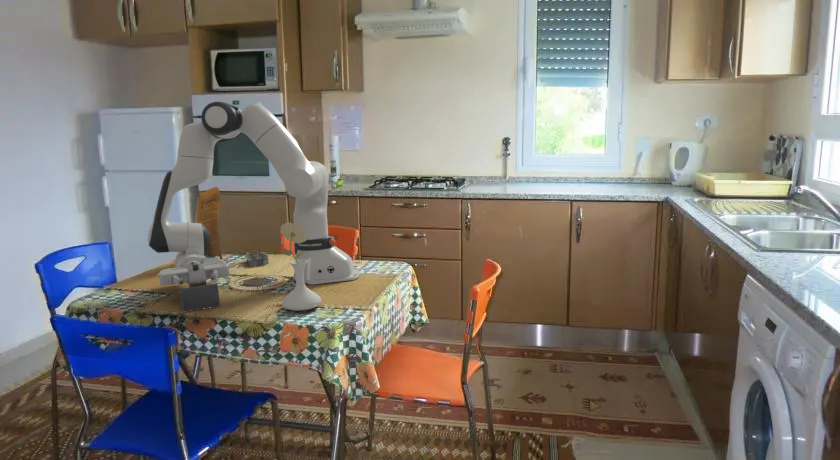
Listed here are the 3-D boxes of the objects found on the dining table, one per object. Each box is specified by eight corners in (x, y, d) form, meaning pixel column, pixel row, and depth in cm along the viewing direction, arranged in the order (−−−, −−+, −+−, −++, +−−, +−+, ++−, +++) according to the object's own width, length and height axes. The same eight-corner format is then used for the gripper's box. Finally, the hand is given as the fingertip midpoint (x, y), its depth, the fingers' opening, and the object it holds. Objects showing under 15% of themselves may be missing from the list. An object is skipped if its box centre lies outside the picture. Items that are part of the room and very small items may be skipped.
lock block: (190, 300, 191) (186, 264, 189) (206, 297, 193) (202, 262, 190) (192, 305, 186) (188, 268, 184) (208, 302, 188) (204, 266, 186)
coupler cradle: (179, 299, 194) (177, 278, 193) (213, 294, 198) (211, 273, 197) (184, 312, 182) (181, 289, 181) (219, 306, 186) (217, 284, 185)
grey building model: (246, 261, 241) (245, 251, 240) (266, 259, 244) (265, 249, 243) (249, 268, 231) (248, 257, 230) (269, 265, 234) (268, 254, 233)
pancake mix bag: (232, 256, 250) (225, 186, 244) (206, 268, 231) (198, 193, 226) (216, 255, 251) (209, 186, 245) (189, 268, 233) (181, 193, 227)
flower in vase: (330, 306, 183) (324, 221, 178) (298, 316, 175) (291, 228, 170) (302, 298, 192) (296, 217, 187) (270, 308, 183) (263, 223, 178)
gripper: (155, 264, 195) (158, 274, 182) (223, 255, 203) (231, 264, 191) (158, 283, 196) (161, 295, 184) (225, 274, 204) (232, 284, 192)
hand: (197, 279), depth 187 cm, fingers open, 8 cm apart
